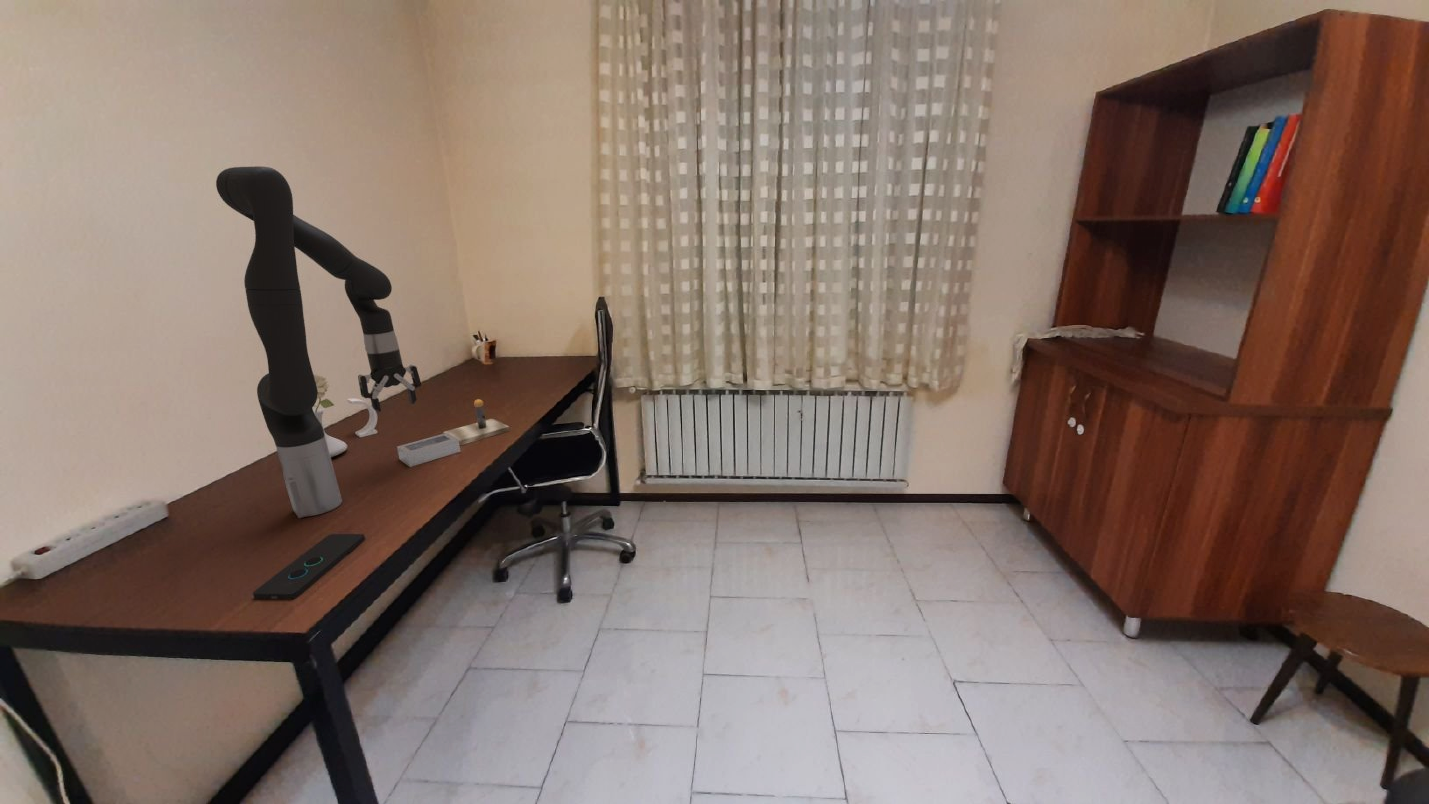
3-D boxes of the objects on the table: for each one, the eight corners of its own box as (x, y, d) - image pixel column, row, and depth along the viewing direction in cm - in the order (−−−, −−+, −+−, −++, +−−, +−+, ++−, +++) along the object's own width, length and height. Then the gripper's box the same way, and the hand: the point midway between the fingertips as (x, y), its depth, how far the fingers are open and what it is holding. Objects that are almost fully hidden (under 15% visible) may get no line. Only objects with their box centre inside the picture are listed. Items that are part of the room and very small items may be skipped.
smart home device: (249, 593, 99) (328, 533, 118) (252, 601, 99) (330, 540, 118) (294, 593, 98) (366, 533, 117) (296, 601, 99) (368, 540, 118)
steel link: (409, 467, 153) (406, 453, 151) (399, 459, 158) (396, 446, 157) (460, 451, 162) (458, 439, 161) (449, 445, 168) (447, 432, 166)
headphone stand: (355, 434, 179) (347, 399, 175) (376, 429, 183) (368, 394, 180) (360, 437, 176) (351, 401, 172) (381, 432, 180) (373, 397, 177)
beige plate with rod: (460, 445, 167) (453, 411, 164) (444, 436, 175) (437, 403, 171) (509, 430, 178) (504, 398, 175) (492, 422, 186) (487, 391, 182)
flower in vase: (292, 462, 158) (268, 378, 151) (327, 447, 169) (306, 367, 161) (328, 465, 155) (306, 379, 148) (362, 449, 166) (342, 369, 158)
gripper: (356, 356, 138) (371, 417, 143) (416, 345, 148) (428, 403, 153) (347, 352, 143) (362, 411, 148) (406, 342, 153) (418, 398, 158)
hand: (396, 407), depth 151 cm, fingers open, 8 cm apart
